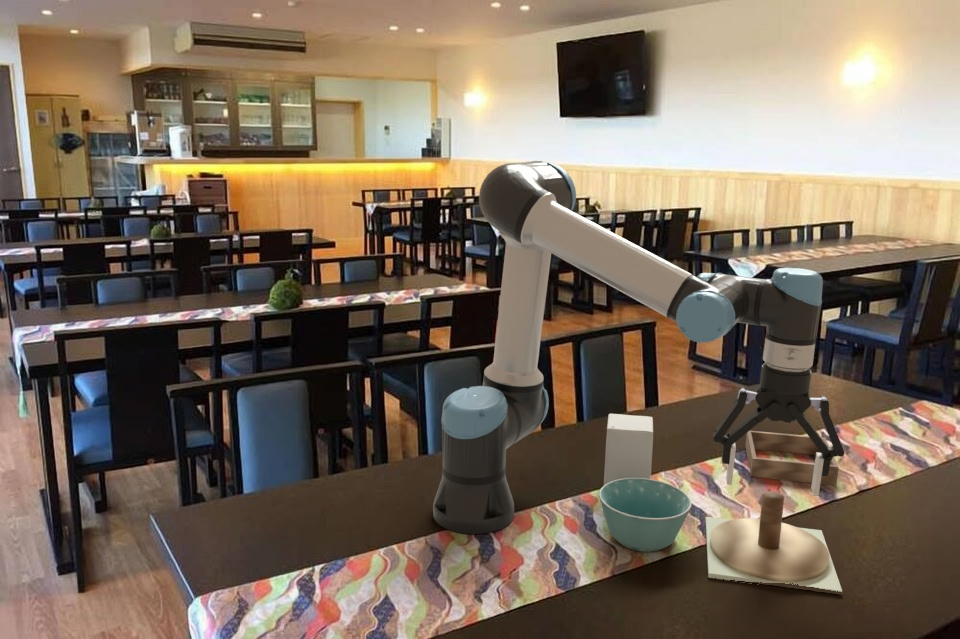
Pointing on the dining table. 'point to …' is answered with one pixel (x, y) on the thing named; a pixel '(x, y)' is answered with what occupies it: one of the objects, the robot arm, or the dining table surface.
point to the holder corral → (784, 467)
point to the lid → (769, 545)
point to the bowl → (644, 512)
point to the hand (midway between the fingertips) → (771, 487)
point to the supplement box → (628, 447)
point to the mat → (727, 573)
